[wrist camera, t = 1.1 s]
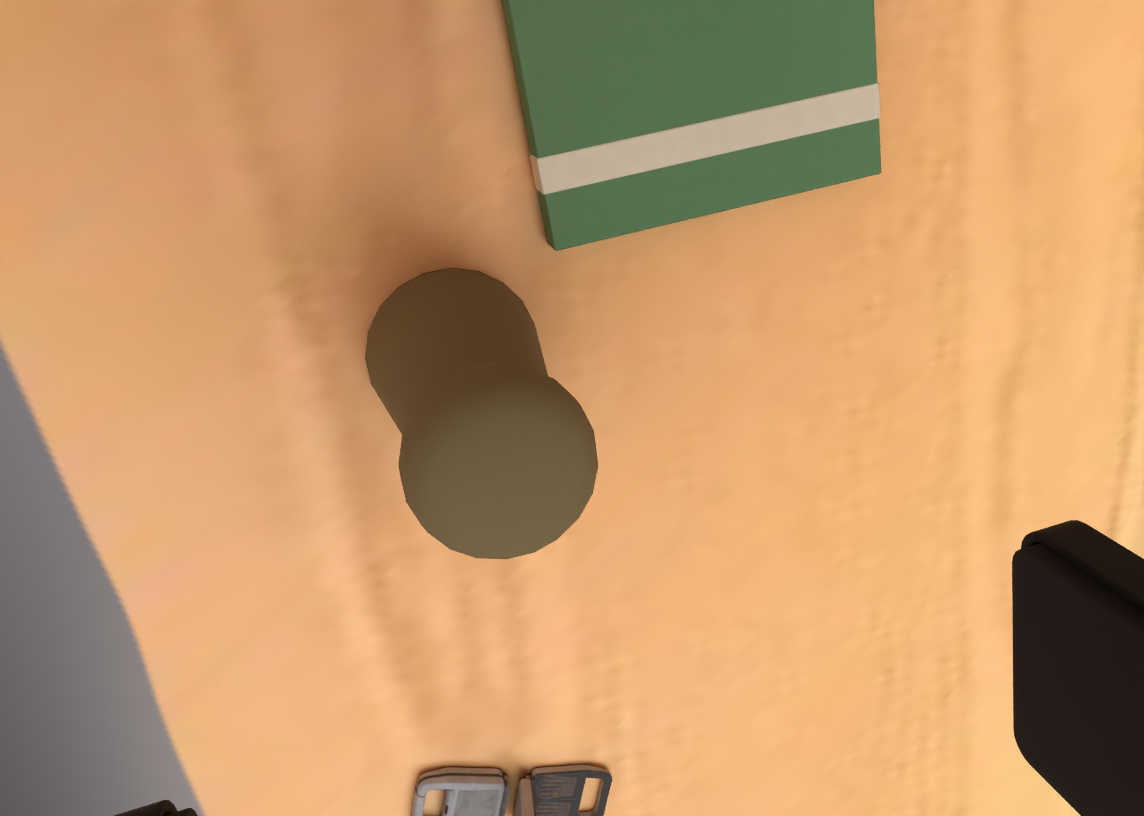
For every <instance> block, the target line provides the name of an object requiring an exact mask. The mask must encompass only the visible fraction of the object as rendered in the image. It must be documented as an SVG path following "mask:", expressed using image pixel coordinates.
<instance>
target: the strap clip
mask: <svg viewBox="0 0 1144 816" xmlns="http://www.w3.org/2000/svg"><path fill="white" fill-rule="evenodd" d="M586 777H587V778H600V779H602V781H601V785H600V790H599V794H598V798H597V802H596V806H595V809H594V810H593V811H591V812H578V810H579V805H580V801H581V797H582V792H583V788H584V784H585V779H586ZM507 781H508V777H507V775H506V776H502V772H501V771H500V770H499V769H495V768H460V767H446V768H442V769H438V770H434V771H430V772H427V773H425V774H423V775H421V776H420V777H419V779H418V781H417V786H416V788H415V793H414V799H413V805H412V811H411V816H422V813H423V807H424V801H425V796H426V793H427V791H428V790H445V793H444V799H443V805H442V811H441V816H505V812H506V807H507V802H508V797H509V792H510V785H509V784H508V783H507ZM611 782H612V776H611V774H610V773H609V772H608V771H607V770H605V769H603V768H599V767H594V766H589V765H585V764H584V765H571V766H557V767H543V768H535V769H534V770H533V771H532V774H531V775H529V776H528V775H525V779H523V778H521V780H520V783H519V788H518V792H517V797H516V802H515V807H514V812H513V816H603V815H604V811H605V807H606V802H607V798H608V794H609V790H610V786H611Z"/></svg>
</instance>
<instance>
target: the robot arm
mask: <svg viewBox="0 0 1144 816" xmlns="http://www.w3.org/2000/svg"><path fill="white" fill-rule="evenodd" d="M1012 593H1013V714H1014V736H1015V739H1016V742H1017V745H1018V747H1019V749H1020V751H1021V753H1022V755H1023V756H1024V758H1025V759H1026V760H1027V762H1028V763H1029V764H1030V765H1031V766H1032V767H1033V768H1034V769H1035V770H1036V771H1037V772H1038V773H1039V774H1040V775H1041V776H1042V777H1043V778H1044V779H1045V780H1046V781H1047V782H1048V783H1049V784H1050V785H1051V786H1052V787H1053V788H1054V789H1055V790H1056V791H1057V792H1058V793H1059V794H1060V795H1061V796H1062V797H1063V798H1064V799H1065V800H1066V801H1067V802H1068V803H1069V804H1070V805H1071V806H1072V807H1073V808H1074V809H1075V810H1076V811H1077V812H1078V813H1079V814H1080V815H1081V816H1144V559H1143V558H1141V557H1139V556H1138V555H1136V554H1134V553H1133V552H1131V551H1130V550H1128V549H1126V548H1125V547H1123V546H1121V545H1120V544H1118V543H1116V542H1115V541H1113V540H1112V539H1110V538H1108V537H1107V536H1105V535H1103V534H1102V533H1100V532H1099V531H1097V530H1095V529H1094V528H1092V527H1090V526H1089V525H1087V524H1085V523H1083V522H1080V521H1078V520H1070V521H1067V522H1064V523H1061V524H1057V525H1054V526H1051V527H1048V528H1044V529H1041V530H1038V531H1035V532H1032V533H1029V534H1028V535H1026V536H1025V537H1024V539H1023V541H1022V545H1021V549H1020V550H1018V551H1016V552H1015V554H1014V556H1013V561H1012ZM115 816H197V814H196V812H195V811H194V810H193V809H192V808H187V809H184V810H181V811H177V809H176V808H175V806H174V804H172V803H171V802H170V801H169V800H163V801H160V802H157V803H153V804H150V805H147V806H144V807H140V808H137V809H134V810H131V811H128V812H125V813H121V814H118V815H115Z"/></svg>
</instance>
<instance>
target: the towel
mask: <svg viewBox="0 0 1144 816" xmlns="http://www.w3.org/2000/svg"><path fill="white" fill-rule="evenodd" d="M501 1H502V6H503V11H504V16H505V22H506V27H507V32H508V38H509V43H510V48H511V53H512V59H513V64H514V69H515V74H516V80H517V85H518V90H519V96H520V101H521V106H522V111H523V117H524V122H525V127H526V132H527V138H528V143H529V148H530V161H531V166H532V172H533V177H534V182H535V187H536V189H537V190H538V196H539V201H540V206H541V212H542V217H543V222H544V227H545V233H546V238H547V243H548V244H549V245H550V246H551V247H552V248H553V249H554V250H556V251H557V250H562V249H566V248H570V247H574V246H578V245H583V244H587V243H591V242H595V241H599V240H604V239H608V238H612V237H616V236H620V235H625V234H629V233H633V232H637V231H641V230H646V229H650V228H654V227H658V226H662V225H666V224H671V223H675V222H679V221H683V220H687V219H692V218H696V217H700V216H704V215H708V214H713V213H717V212H721V211H725V210H729V209H734V208H738V207H742V206H746V205H750V204H755V203H759V202H763V201H767V200H771V199H776V198H780V197H784V196H788V195H792V194H797V193H801V192H805V191H809V190H813V189H818V188H822V187H826V186H830V185H834V184H839V183H843V182H847V181H851V180H855V179H860V178H864V177H868V176H872V175H876V174H880V173H881V157H880V134H879V118H880V94H879V83H877V66H876V43H875V20H874V0H501Z"/></svg>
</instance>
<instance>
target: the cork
mask: <svg viewBox="0 0 1144 816" xmlns="http://www.w3.org/2000/svg"><path fill="white" fill-rule="evenodd" d="M365 359H366V363H367V368H368V372H369V376H370V381H371V384H372V386H373V387H374V389H375V391H376V392H377V394H378V396H379V397H380V399H381V401H382V402H383V404H384V406H385V407H386V409H387V410H388V412H389V414H390V415H391V417H392V419H393V420H394V422H395V424H396V425H397V427H398V429H399V430H400V432H401V434H402V441H401V449H400V457H399V471H400V476H401V481H402V485H403V490H404V494H405V498H406V502H407V504H408V505H409V507H410V508H411V510H412V511H413V513H414V514H415V516H416V518H417V519H418V521H419V522H420V524H421V525H422V526H423V528H424V529H425V530H426V531H427V532H428V533H429V534H431V535H432V536H433V537H435V538H436V539H437V540H439V541H440V542H441V543H442V544H444V545H445V546H446V547H448V548H449V549H451V550H454V551H457V552H460V553H463V554H466V555H469V556H472V557H475V558H488V559H509V558H513V557H518V556H522V555H526V554H530V553H534V552H536V551H537V550H539V549H541V548H543V547H545V546H546V545H548V544H550V543H552V542H554V541H555V540H557V539H558V538H559V537H560V536H561V535H562V534H563V533H564V532H565V531H566V530H567V529H568V528H569V527H570V526H571V525H572V524H573V523H574V522H575V521H576V520H577V519H578V518H579V517H580V515H581V513H582V512H583V510H584V508H585V506H586V504H587V503H588V501H589V499H590V497H591V495H592V494H593V489H594V484H595V479H596V474H597V469H598V460H597V452H596V444H595V437H594V430H593V428H592V426H591V424H590V422H589V421H588V419H587V417H586V415H585V413H584V411H583V409H582V407H581V405H580V404H579V403H578V401H577V400H576V399H575V398H574V397H573V396H572V395H571V394H570V393H569V392H568V391H567V390H566V389H565V388H564V387H562V386H561V385H560V384H559V383H558V382H557V381H556V380H555V379H553V378H551V377H549V376H548V374H547V370H546V367H545V363H544V359H543V355H542V351H541V348H540V344H539V340H538V336H537V332H536V329H535V325H534V322H533V320H532V318H531V317H530V315H529V313H528V311H527V309H526V307H525V305H524V303H523V301H522V300H521V299H520V298H519V297H518V296H517V295H516V294H515V293H513V292H512V291H511V290H510V289H509V288H508V287H507V286H506V285H505V284H504V283H502V282H500V281H498V280H496V279H494V278H492V277H490V276H487V275H485V274H483V273H481V272H479V271H470V270H462V269H454V268H450V269H445V270H439V271H434V272H429V273H424V274H422V275H420V276H418V277H416V278H415V279H413V280H411V281H409V282H407V283H405V284H403V285H402V286H400V287H398V288H397V290H396V291H395V292H394V293H393V294H392V295H391V296H390V297H389V298H388V299H387V300H386V301H385V302H384V303H383V304H382V305H381V306H380V308H379V310H378V312H377V314H376V316H375V318H374V320H373V323H372V325H371V327H370V329H369V331H368V338H367V347H366V356H365Z"/></svg>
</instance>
